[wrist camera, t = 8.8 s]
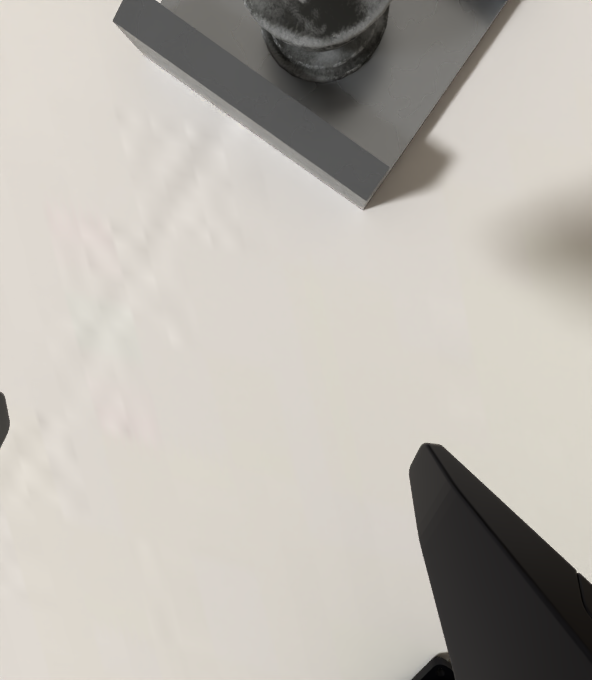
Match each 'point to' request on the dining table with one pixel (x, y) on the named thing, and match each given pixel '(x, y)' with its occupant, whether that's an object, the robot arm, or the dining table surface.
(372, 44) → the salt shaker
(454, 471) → the robot arm
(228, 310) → the dining table surface
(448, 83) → the floor track
